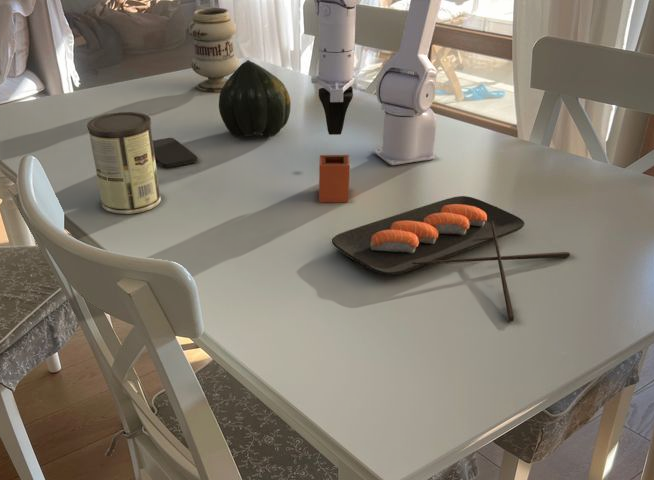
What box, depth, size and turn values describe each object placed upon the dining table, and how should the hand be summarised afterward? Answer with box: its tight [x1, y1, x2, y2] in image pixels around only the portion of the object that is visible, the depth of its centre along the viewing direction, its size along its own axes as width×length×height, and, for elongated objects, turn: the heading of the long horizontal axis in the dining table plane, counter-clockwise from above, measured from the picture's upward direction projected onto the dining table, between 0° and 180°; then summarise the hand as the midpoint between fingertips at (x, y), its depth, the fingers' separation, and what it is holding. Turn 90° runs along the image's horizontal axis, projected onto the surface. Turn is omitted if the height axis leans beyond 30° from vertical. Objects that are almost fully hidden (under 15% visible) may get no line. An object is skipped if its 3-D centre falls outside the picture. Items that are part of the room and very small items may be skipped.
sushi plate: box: [331, 195, 571, 322], centre depth 102 cm, size 29×30×4 cm
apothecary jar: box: [188, 7, 240, 93], centre depth 178 cm, size 12×12×18 cm
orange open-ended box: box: [318, 154, 351, 203], centre depth 122 cm, size 6×5×5 cm
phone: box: [153, 137, 198, 168], centre depth 142 cm, size 7×1×15 cm
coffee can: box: [86, 111, 162, 215], centre depth 120 cm, size 10×10×14 cm
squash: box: [218, 59, 292, 138], centre depth 149 cm, size 14×15×15 cm
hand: (334, 133), depth 121 cm, fingers closed
